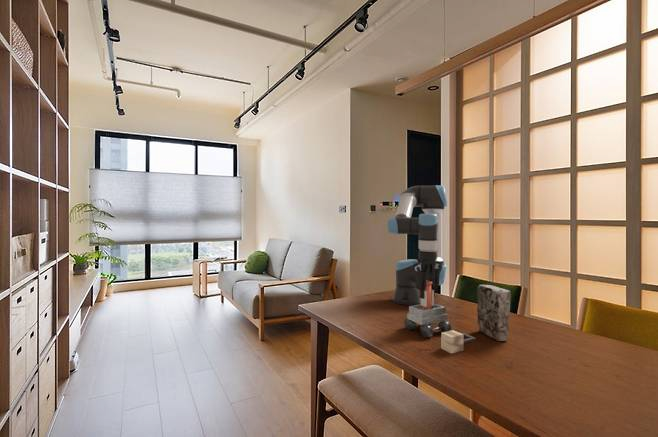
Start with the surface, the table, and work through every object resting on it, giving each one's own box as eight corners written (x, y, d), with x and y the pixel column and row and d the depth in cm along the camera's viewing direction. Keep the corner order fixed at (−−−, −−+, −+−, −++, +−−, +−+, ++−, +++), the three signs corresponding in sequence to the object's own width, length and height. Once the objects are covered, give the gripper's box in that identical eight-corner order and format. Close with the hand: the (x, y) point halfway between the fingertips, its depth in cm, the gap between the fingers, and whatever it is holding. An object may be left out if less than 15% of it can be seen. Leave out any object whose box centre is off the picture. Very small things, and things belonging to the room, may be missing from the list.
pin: (432, 310, 145) (432, 280, 145) (432, 313, 141) (432, 282, 141) (422, 310, 146) (422, 280, 146) (422, 312, 142) (422, 282, 142)
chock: (452, 345, 129) (453, 330, 129) (463, 350, 124) (463, 334, 124) (441, 348, 126) (441, 332, 126) (451, 353, 122) (451, 337, 121)
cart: (427, 323, 154) (427, 300, 153) (452, 334, 140) (453, 309, 140) (402, 328, 147) (402, 304, 147) (427, 340, 134) (427, 314, 134)
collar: (462, 334, 140) (462, 332, 140) (475, 339, 134) (475, 337, 134) (451, 337, 137) (451, 335, 137) (464, 342, 131) (464, 340, 131)
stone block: (512, 340, 134) (512, 290, 133) (498, 342, 131) (499, 291, 131) (486, 329, 146) (486, 283, 145) (473, 331, 144) (473, 284, 143)
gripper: (435, 248, 150) (435, 300, 151) (406, 250, 143) (406, 305, 143) (448, 250, 143) (448, 305, 144) (418, 252, 136) (418, 310, 137)
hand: (427, 305), depth 144 cm, fingers closed on pin, 3 cm apart
